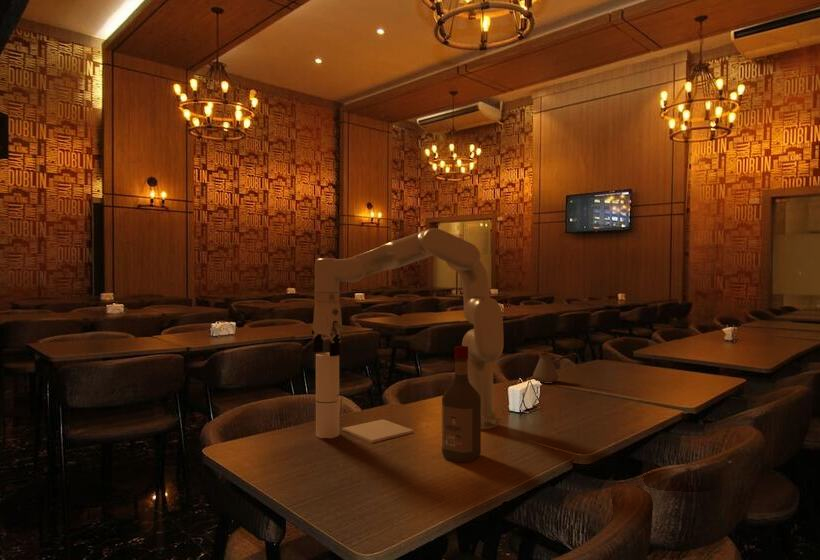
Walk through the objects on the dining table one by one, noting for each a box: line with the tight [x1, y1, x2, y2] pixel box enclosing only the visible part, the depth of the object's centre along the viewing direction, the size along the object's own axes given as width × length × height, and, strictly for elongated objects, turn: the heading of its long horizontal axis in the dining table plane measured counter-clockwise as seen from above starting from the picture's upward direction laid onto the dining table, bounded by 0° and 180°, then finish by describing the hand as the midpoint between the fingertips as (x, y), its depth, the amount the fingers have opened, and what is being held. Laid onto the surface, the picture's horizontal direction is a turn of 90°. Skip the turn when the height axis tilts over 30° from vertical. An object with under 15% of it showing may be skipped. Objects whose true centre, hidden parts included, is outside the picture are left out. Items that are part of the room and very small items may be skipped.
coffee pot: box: [532, 352, 579, 384], centre depth 242 cm, size 21×12×15 cm, turn 45°
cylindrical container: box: [315, 352, 340, 439], centre depth 165 cm, size 7×7×25 cm
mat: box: [342, 418, 415, 444], centre depth 169 cm, size 16×16×1 cm
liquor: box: [441, 345, 482, 464], centre depth 146 cm, size 9×9×30 cm
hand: (326, 353), depth 165 cm, fingers open, 9 cm apart
